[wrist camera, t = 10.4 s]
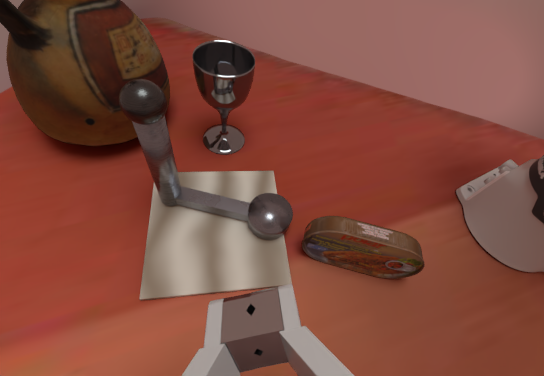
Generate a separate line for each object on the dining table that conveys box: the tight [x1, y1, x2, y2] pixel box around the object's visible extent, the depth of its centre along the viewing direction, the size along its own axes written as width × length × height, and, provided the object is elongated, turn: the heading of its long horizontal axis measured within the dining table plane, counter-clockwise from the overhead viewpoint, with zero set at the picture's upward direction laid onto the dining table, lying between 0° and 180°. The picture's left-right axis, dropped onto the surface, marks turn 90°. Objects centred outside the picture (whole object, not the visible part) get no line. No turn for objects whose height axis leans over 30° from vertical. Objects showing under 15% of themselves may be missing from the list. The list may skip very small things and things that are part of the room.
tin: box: [302, 216, 424, 279], centre depth 35 cm, size 15×3×8 cm, turn 77°
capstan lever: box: [119, 79, 293, 240], centre depth 31 cm, size 19×6×18 cm, turn 79°
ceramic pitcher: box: [0, 0, 170, 146], centre depth 34 cm, size 20×20×30 cm
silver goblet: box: [193, 40, 255, 155], centre depth 41 cm, size 8×8×15 cm
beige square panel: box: [140, 171, 292, 300], centre depth 38 cm, size 18×18×1 cm
